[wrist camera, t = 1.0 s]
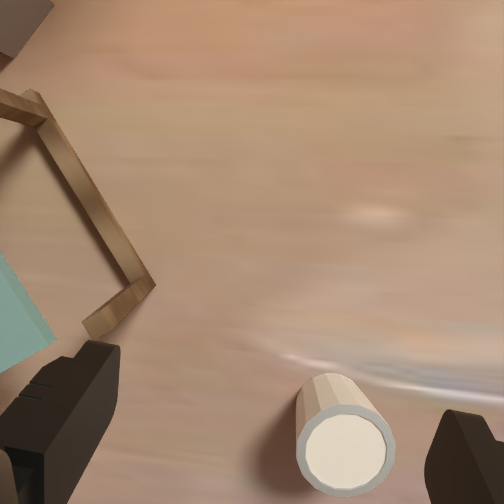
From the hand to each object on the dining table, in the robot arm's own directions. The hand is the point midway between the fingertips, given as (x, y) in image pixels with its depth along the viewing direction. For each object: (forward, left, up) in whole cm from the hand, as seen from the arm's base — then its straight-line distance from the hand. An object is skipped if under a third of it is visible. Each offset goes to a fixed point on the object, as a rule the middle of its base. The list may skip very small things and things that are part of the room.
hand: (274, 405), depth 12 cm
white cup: (+14, -1, -26) cm, 30 cm away
